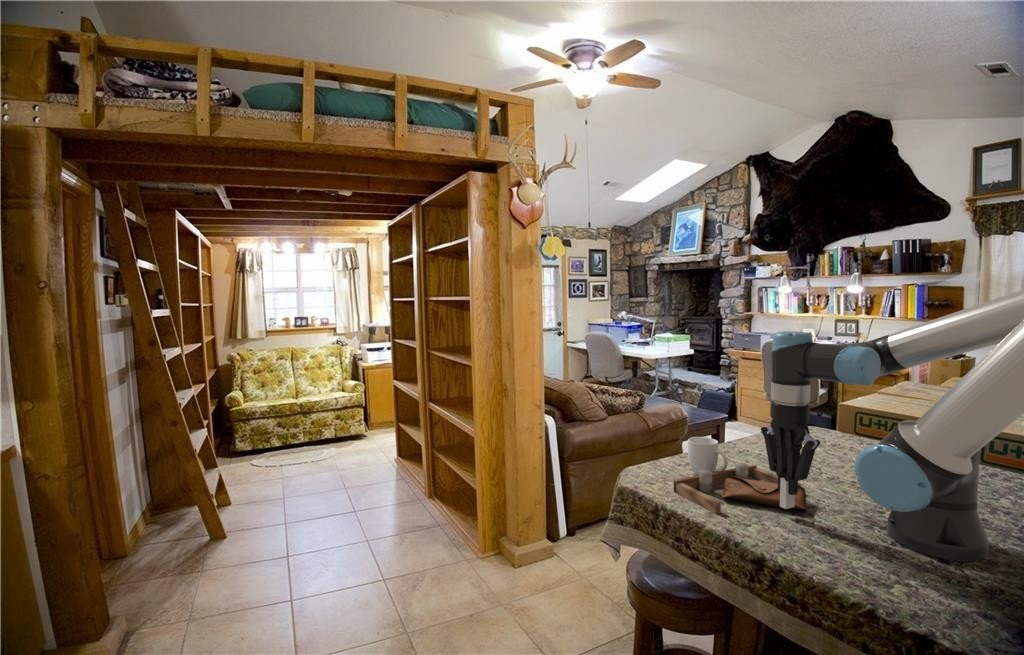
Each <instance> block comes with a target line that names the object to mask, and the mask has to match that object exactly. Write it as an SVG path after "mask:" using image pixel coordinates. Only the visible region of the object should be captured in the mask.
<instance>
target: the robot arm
mask: <svg viewBox="0 0 1024 655" xmlns="http://www.w3.org/2000/svg"><path fill="white" fill-rule="evenodd" d="M992 346H994V347H993V348H992V349H991V350H990V351H989V352H988V353H987V354H986V355H985V356H984V357H983V358H982V359H980V360H979V361H978V362H977V363H976V364H975V365H974V366H973V367H972V368H971V369H970V370H969V371H968V372H967V373H965V375H964V376H963V377H962V378H961V379H959V381H957V383H955V384H954V385H953V386H952V387H951V388H949V390H948V391H947V392H946V393H944V395H942V397H940V398H939V399H938V400H937V401H936V402H935V403H934V404H933V405H932V406H931V407H930V408H928V410H927V411H926V412H924V413H923V415H921V417H919V418H918V419H916V420H911V419H910V420H909V419H908V420H907V419H906V420H902V421H900V422H898V424H896V426H894V428H893V429H892V430H891V431H890V432H889V433H887V435H886V436H884V438H882V439H881V440H880V441H879V442H878V443H875V444H873V445H872V444H871V445H869V446H867V447H865V448H864V449H863V450H862V451H861V452H859V454H858V455H857V457H856V458H855V462H854V473H855V476H856V480H857V482H858V485H859V486H860V488H861V490H862V491H863V492H864V493H865V494H866V495H867V496H868V497H869V498H870V499H871V500H872V501H873V502H874V503H876V504H878V505H880V506H882V507H884V508H885V509H888V510H890V513H889V515H888V518H887V521H886V532H887V534H888V535H889V537H891V538H892V539H893V540H894V541H896V542H898V543H899V544H901V545H903V546H905V547H907V548H909V549H912V550H914V551H916V552H920V553H922V554H926V555H930V556H933V557H935V558H942V559H946V560H952V561H958V562H959V561H961V562H978V561H982V560H985V559H987V558H988V557H989V554H990V553H989V550H990V549H989V548H990V542H989V539H988V536H987V534H986V532H985V529H984V526H983V524H982V521H981V518H980V516H979V513H978V499H979V498H978V497H979V478H980V477H979V476H980V475H979V473H980V470H979V469H980V453H981V452H982V450H981V449H982V448H984V447H985V446H986V445H987V444H988V443H990V442H991V441H992V440H994V439H995V438H996V437H997V436H998V435H999V434H1001V433H1002V432H1003V431H1005V430H1006V428H1007V429H1008V427H1009V426H1010V425H1011V424H1013V423H1014V422H1015V421H1016V420H1018V419H1019V418H1020V417H1021V416H1023V415H1024V289H1021V290H1018V291H1016V292H1015V291H1014V292H1012V293H1009V294H1007V295H1003V296H1000V297H998V298H993V299H991V300H988V301H985V302H982V303H978V304H976V305H973V306H970V307H967V308H964V309H961V310H958V311H955V312H952V313H950V314H946V315H943V316H939V317H938V318H935V319H932V320H928V321H925V322H923V323H920V324H917V325H914V326H911V327H907V328H904V329H902V330H899V331H894V332H892V333H890V334H886V335H882V336H881V337H876V338H874V339H870V340H867V341H863V342H853V343H843V344H835V343H834V344H833V343H819V342H815V341H814V340H813V335H812V333H810V332H806V331H794V330H793V331H792V330H791V331H789V330H788V331H785V330H784V331H777V332H775V333H774V334H773V336H772V346H771V351H770V352H771V381H770V399H771V400H772V401H771V402H770V410H769V411H770V413H769V414H770V415H769V416H770V418H771V420H770V423H769V425H766V426H761V428H760V431H761V434H762V436H763V438H764V443H765V444H764V445H765V448H766V455H767V461H768V466H769V470H770V471H771V472H774V473H775V475H777V476H778V490H780V507H779V508H782V509H784V510H788V509H793V508H792V507H794V504H795V495H796V494H797V493H798V484H799V481H803V480H804V481H805V480H807V479H808V477H809V473H810V470H811V467H812V463H813V460H814V456H815V452H816V450H817V449H818V448H819V446H820V445H821V441H820V440H819V439H814V437H813V436H812V435H811V434H810V429H809V426H808V425H809V422H810V415H811V406H810V404H809V403H810V402H811V385H812V384H811V383H812V381H811V380H812V379H814V380H821V381H827V382H834V383H841V384H846V385H847V386H848V385H849V386H853V385H855V386H865V387H866V386H870V385H873V384H874V382H875V381H876V380H877V379H878V378H879V377H886V376H890V375H892V374H893V375H894V373H896V372H899V371H900V372H901V371H904V370H906V369H910V368H914V367H917V366H921V365H925V364H928V363H929V364H930V363H932V362H937V361H940V360H942V359H947V358H951V357H955V356H958V355H962V354H966V353H970V352H973V351H976V350H977V351H978V350H980V349H984V348H987V347H992Z"/></svg>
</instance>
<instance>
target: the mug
mask: <svg viewBox="0 0 1024 655" xmlns="http://www.w3.org/2000/svg"><path fill="white" fill-rule="evenodd" d="M719 455H720V456H721V457H722V458H723V467H722V468H720V469H717V465H718V462H719V461H718V460H719ZM687 456H688V457H687V459H688V462H689V466H690V468H691V470H692V473H693V474H694V475H695V476H697V475H699V471H700V470H710V471H712V473H713V472H718V471H724V470H727V467H728V463H729V462H728V458H727V455H726V454H725V453H724V451H722V450H720V449H719V441H718V440H717V439H714V438H711V437H706V436H705V437H704V436H693V437H689V438H688V439H687Z"/></svg>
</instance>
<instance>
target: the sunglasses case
mask: <svg viewBox="0 0 1024 655" xmlns="http://www.w3.org/2000/svg"><path fill="white" fill-rule="evenodd" d="M806 495H807V493H806V489H805V488H804V487H803V486H798V493H797V494H796V495H795V504H794V507H792V508H791V509H798V510H808V508H807V507H808V504H807V496H806ZM721 498H723V499H733V500H739V501H744V502H749V503H750V502H751V503H755V504H762V505H766V506H772V507H777V508H781V507H780V490H778V484H777V483H771V482H765V481H762V480H756V479H749V478H748V479H742V478H739V477H734V476H727V477H725V479H724V483H723V489H722V495H721Z"/></svg>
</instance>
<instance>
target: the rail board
mask: <svg viewBox="0 0 1024 655" xmlns="http://www.w3.org/2000/svg"><path fill="white" fill-rule="evenodd" d="M734 465H735V468H730V469H725V470H724V471H718V472H713V473H712V471H710V470H700V471H699V475H693V476H687V477H682V478H677V479H673V493H675V494H678V495H679V496H681V497H683V498H685V499H687V500H689V501H690V502H693V503H694V504H697V505H698V506H700V507H701V508H704V509H706V510H707V511H709V512H710V513H713V514H720V513H722V512H721V510H722V508H721V506H722V505H721V504H722V502H721V501H719V500H717V499H715V498H713V497H711V496H710V495H709V494H711V493H713V487H714V486H718V485H722V484H723V485H724V479H725V477H727V476H734V477H739V478H742V479H749V478H751V477H753V478H755V479H758V480H759V481H764V482H771V483H777V484H778V476H777V474H776V473H775V474H774V473H771V472H769V471H766V470H764V469H761V468H758V467H757V465H755V464H752V465H748V464H746V463H743V462H737V463H735V464H734ZM798 486H801V483H798ZM801 487H802V486H801ZM698 489H699V490H698Z"/></svg>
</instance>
